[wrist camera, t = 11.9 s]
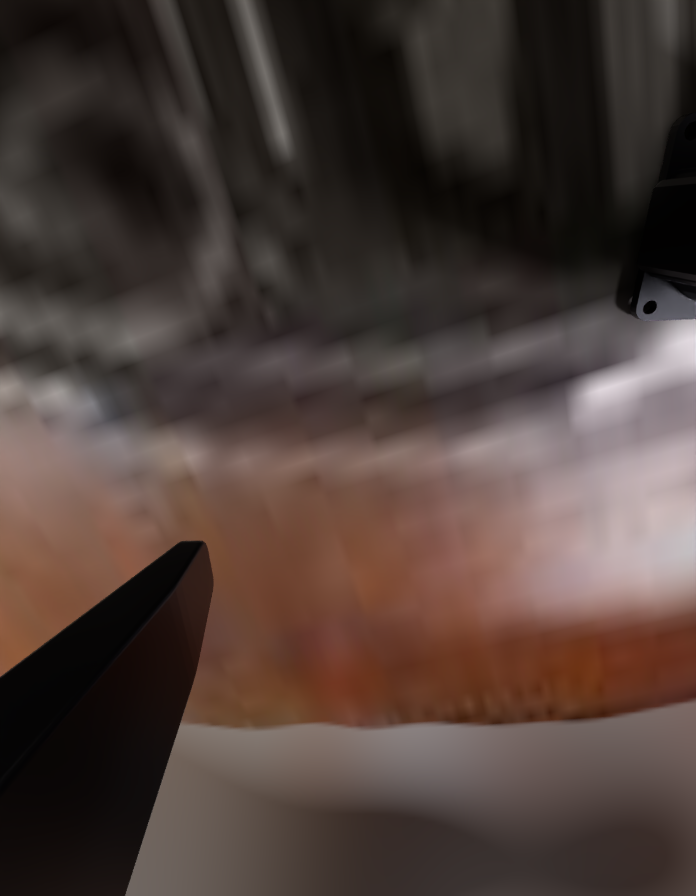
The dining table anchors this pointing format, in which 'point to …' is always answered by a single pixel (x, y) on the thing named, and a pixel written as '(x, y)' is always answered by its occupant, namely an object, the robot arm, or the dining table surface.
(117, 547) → the dining table surface
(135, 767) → the robot arm
